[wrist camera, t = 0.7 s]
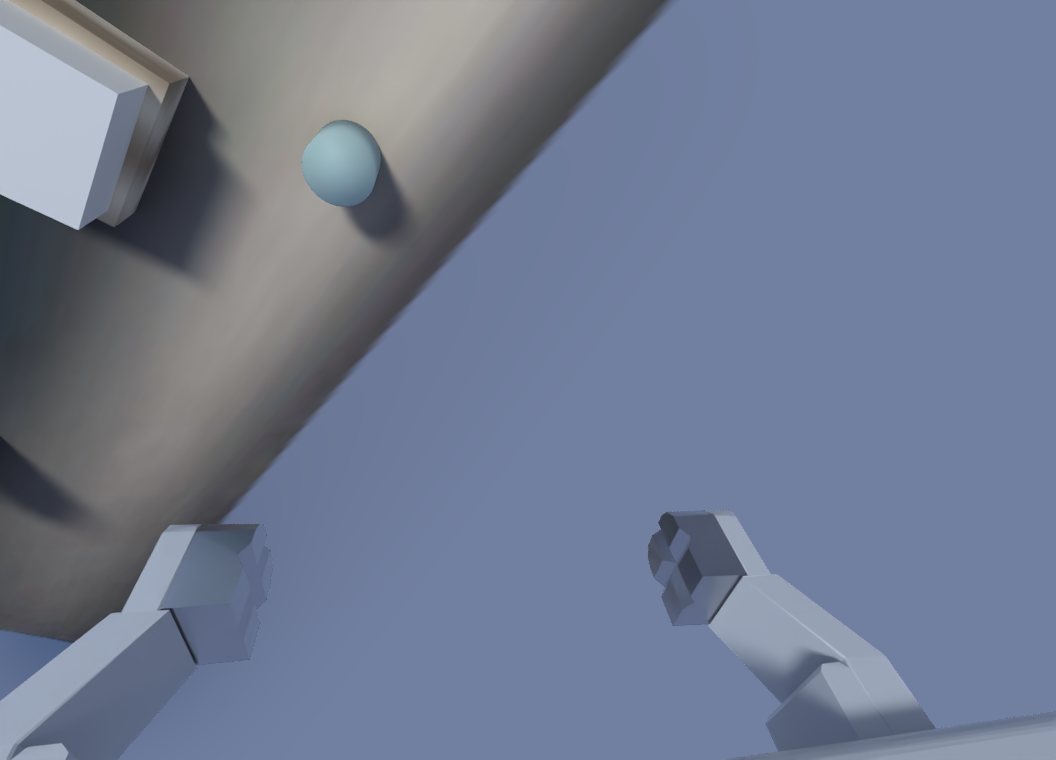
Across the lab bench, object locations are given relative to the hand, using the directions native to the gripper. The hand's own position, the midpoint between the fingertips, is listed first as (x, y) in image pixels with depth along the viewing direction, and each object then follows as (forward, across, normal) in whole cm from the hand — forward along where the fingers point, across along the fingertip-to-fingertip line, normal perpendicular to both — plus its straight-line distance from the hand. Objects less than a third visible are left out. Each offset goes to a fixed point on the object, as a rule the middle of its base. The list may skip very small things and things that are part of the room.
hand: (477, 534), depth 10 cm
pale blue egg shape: (+38, +7, +2) cm, 39 cm away
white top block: (+35, +26, 0) cm, 43 cm away
